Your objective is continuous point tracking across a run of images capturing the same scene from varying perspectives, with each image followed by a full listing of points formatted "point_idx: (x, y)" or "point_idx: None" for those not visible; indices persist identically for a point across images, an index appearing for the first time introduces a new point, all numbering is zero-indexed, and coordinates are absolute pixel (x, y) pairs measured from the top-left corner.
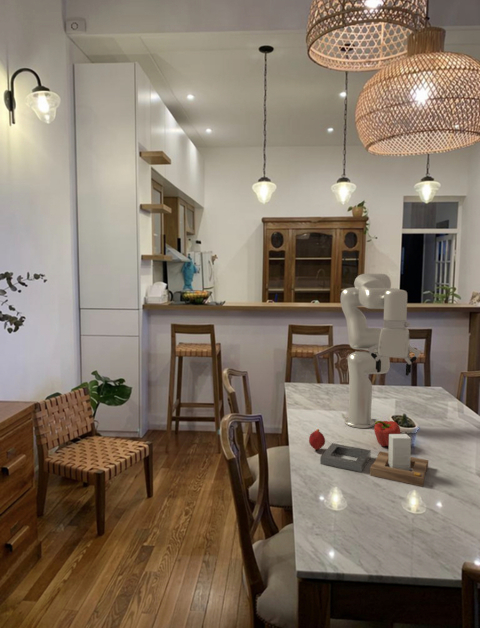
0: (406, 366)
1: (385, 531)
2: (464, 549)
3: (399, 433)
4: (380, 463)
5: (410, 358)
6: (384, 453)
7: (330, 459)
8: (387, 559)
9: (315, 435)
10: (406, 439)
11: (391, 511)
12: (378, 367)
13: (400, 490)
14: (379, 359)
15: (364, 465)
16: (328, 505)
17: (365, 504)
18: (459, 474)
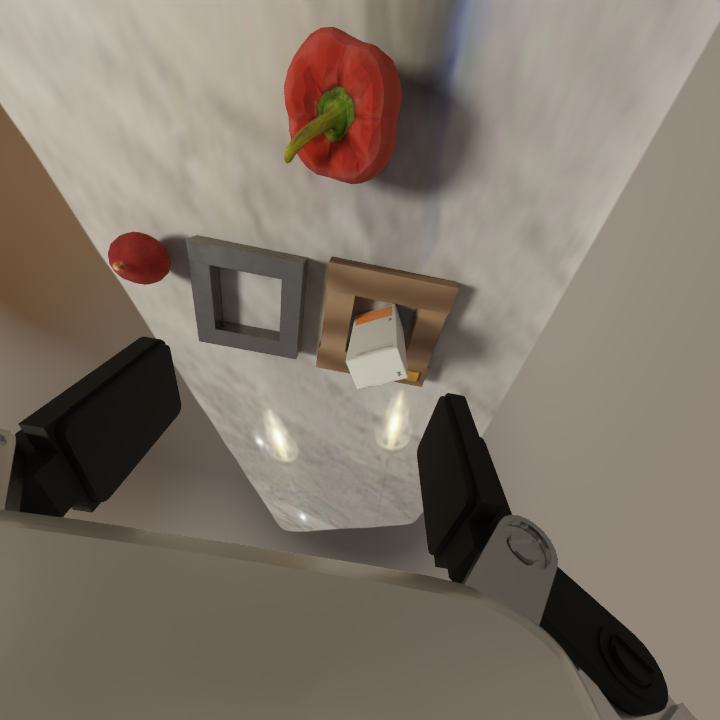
0: (431, 535)
1: (352, 485)
2: None
3: (392, 147)
4: (335, 341)
5: (541, 607)
6: (342, 275)
7: (224, 344)
8: (355, 516)
9: (130, 280)
10: (394, 380)
11: (360, 452)
12: (143, 448)
13: (376, 398)
14: (54, 511)
15: (301, 326)
16: (275, 455)
17: (323, 444)
18: (523, 301)
